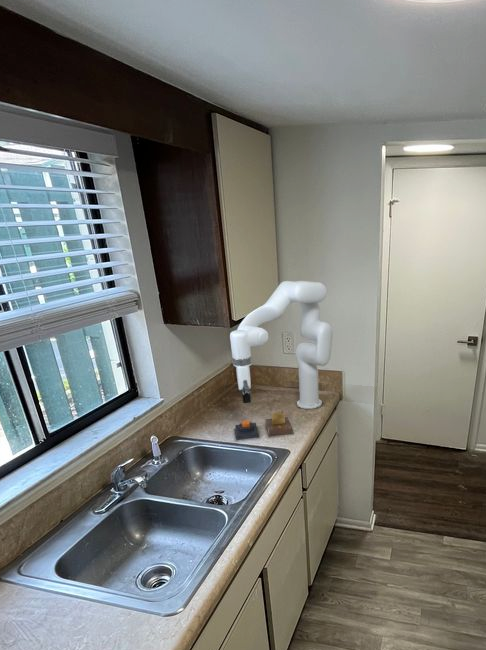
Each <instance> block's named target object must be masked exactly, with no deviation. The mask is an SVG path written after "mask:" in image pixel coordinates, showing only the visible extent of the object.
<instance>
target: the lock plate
mask: <svg viewBox="0 0 486 650" xmlns="http://www.w3.org/2000/svg"><path fill="white" fill-rule="evenodd" d="M265 426H266V430H267V434H268V437H269V438H270V437H279V436H286V435H293V427H292V424H291V422H290V419H289V417H288V416H285V423H283V424H275V425H272V418H266V419H265Z"/></svg>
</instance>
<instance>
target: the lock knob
mask: <svg viewBox="0 0 486 650" xmlns="http://www.w3.org/2000/svg"><path fill="white" fill-rule="evenodd" d="M270 415H271V419H272V425H275V424H283V423H285V417H286V416H285V411H283V410H282V411H275V412H271V414H270Z"/></svg>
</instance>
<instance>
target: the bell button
mask: <svg viewBox="0 0 486 650" xmlns="http://www.w3.org/2000/svg"><path fill="white" fill-rule="evenodd" d="M250 422H251V421H249V420H242V421H241V423H242V427H249V426H250Z"/></svg>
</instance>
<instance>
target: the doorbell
mask: <svg viewBox="0 0 486 650" xmlns="http://www.w3.org/2000/svg"><path fill="white" fill-rule="evenodd" d="M234 427H235V434H236V441H242V440H251V439H258V438H259V431H258V426H257V423H256V422H252V421H250V426H249V427H242V422H241V423H239V424H234Z"/></svg>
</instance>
